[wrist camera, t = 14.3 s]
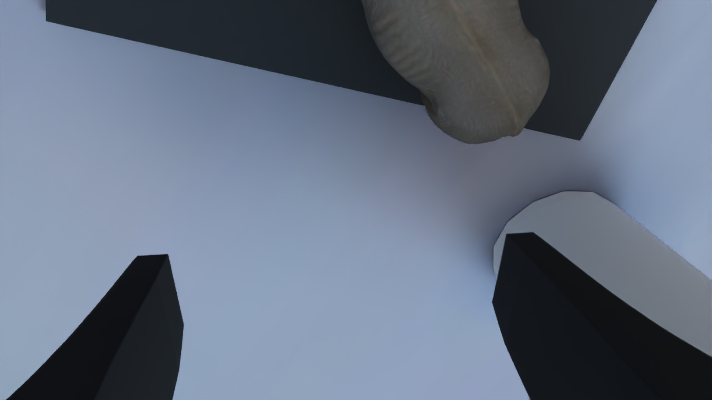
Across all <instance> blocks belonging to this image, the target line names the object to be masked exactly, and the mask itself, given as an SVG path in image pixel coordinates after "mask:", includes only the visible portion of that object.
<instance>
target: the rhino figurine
mask: <svg viewBox="0 0 712 400" xmlns="http://www.w3.org/2000/svg"><path fill="white" fill-rule="evenodd" d="M361 1H362V4H363V7H364V11H365V16H366V20H367V24H368V27H369V30H370V32H371V34H372V37H373V39H374V41H375V43H376V45H377V47H378V48H379V50H380V52H381V53H382V55H383V56H384V58H385V59H386V60H387V62H388V63H389V64H390V65H391V66H392V67H393V68H394V69H395V70H396V71H397V72H398V73H399V74H400V75H401V76H402V77H403V78H404V79H405V80H406V81H408V82H409V83H411V84H412V85H413V86H415V87H417V88H418V89H420V93H421V98H422V100H423V103H424V106H425V108H426V111H427V113H428V116H429V117H430V119H431V120H432V121H433V122H434V124H435V125H436V126H437V127H438V128H440V129H441V130H442V131H443V132H444V133H446V134H448V135H449V136H451V137H453V138H455V139H457V140H459V141H461V142H464V143H467V144H479V143H486V142H491V141H495V140H497V139H499V138H502V137H506V136H512V137H514V136H517V135H518V134H519V133H520V132H521V131H522V130H523V128H524V127H525V125H526V123H527V122H528V120H529V119H530V117H531V116H532V115H533V114H534V113H535V111H536V110H537V108H538V107H539V105H540V103H541V101H542V99H543V97H544V95H545V93H546V90H547V88H548V84H549V76H550V69H549V62H548V59H547V56H546V54H545V52H544V50H543V48H542V46H541V44H540V42H539V40H538V39H537V38H536V37H535V36H534V35H532V34H531V33H530V32H529V31H528V30H527V28H526V26H525V25H524V23H523V20H522V17H521V12H520V8H519V3H518V0H361Z"/></svg>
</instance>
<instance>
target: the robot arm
mask: <svg viewBox="0 0 712 400" xmlns="http://www.w3.org/2000/svg"><path fill="white" fill-rule="evenodd" d="M492 303H493V307H494V310H495V314H496V317H497V321H498V324H499V327H500V330H501V333H502V336H503V339H504V343H505V345H506V347H507V350H508V352H509V354H510V356H511V359H512V361H513V363H514V365H515V367H516V370H517V372H518V374H519V376H520V378H521V380H522V383H523V385H524V387H525V389H526V391H527V393H528V396H529V398H530V400H712V357H711V356H709V355H708V354H706V353H704V352H702V351H701V350H699V349H697V348H696V347H694V346H692V345H691V344H689V343H687V342H686V341H684V340H682V339H680V338H679V337H677V336H675V335H674V334H672V333H670V332H669V331H667V330H666V329H664V328H663V327H661V326H659V325H658V324H656V323H655V322H653V321H652V320H650V319H649V318H648V317H646V316H645V315H643V314H642V313H640V312H639V311H637V310H636V309H634V308H633V307H631V306H630V305H628V304H627V303H626V302H624V301H623V300H621V299H620V298H619V297H617V296H616V295H615V294H613V293H612V292H610V291H609V290H608V289H606V288H605V287H604V286H602V285H601V284H600V283H598V282H597V281H596V280H595V279H593V278H592V277H591V276H589V275H588V274H587V273H585V272H584V271H583V270H582V269H580V268H579V267H578V266H577V265H575V264H574V263H573V262H571V261H570V260H569V259H568V258H566V257H565V256H564V255H563V254H561V253H560V252H559V251H557V250H556V249H555V248H554V247H552V246H551V245H550V244H549V243H547V242H546V241H545V240H543V239H542V238H541V237H539V236H538V235H537V234H535V233H534V232H525V233H509V234H506V237H505V242H504V247H503V252H502V257H501V262H500V266H499V271H498V276H497V281H496V286H495V291H494V296H493V301H492ZM183 328H184V323H183V319H182V314H181V310H180V305H179V301H178V297H177V292H176V288H175V283H174V279H173V274H172V270H171V265H170V261H169V256H168V254H161V255H145V256H137V257H136V258H135V259H134V260H133V261H132V263H131V264H130V265H129V266H128V267H127V269H126V270H125V271H124V272H123V274H122V275H121V276H120V277H119V279H118V280H117V281H116V282H115V284H114V285H113V286H112V287H111V289H110V290H109V291H108V292H107V293H106V295H105V296H104V297H103V298H102V299H101V301H100V302H99V303H98V304H97V305H96V307H95V308H94V309H93V310H92V311H91V312H90V314H89V315H88V316H87V317H86V318H85V319H84V320H83V322H82V323H81V324H80V325H79V326H78V327H77V329H76V330H75V331H74V332H73V333H72V334H71V335H70V336H69V338H68V339H67V340H66V341H65V342H64V343H63V344H62V345H61V346H60V347H59V348H58V349H57V350H56V351H55V352H54V353H53V354H52V355H51V356H50V358H49V359H48V360H47V361H46V362H45V363H44V364H43V365H42V366H41V367H40V368H39V369H38V370H37V371H36V372H35V373H34V374H33V375H32V376H31V377H30V378H29V379H28V380H27V381H26V382H25V383H24V384H23V385H22V386H21V387H20V388H18V389H17V390H16V391H15V392H14V393H13V394H12V395H11V396H10V397H9V398H8V399H6V400H172V399H173V395H174V390H175V386H176V382H177V377H178V372H179V366H180V358H181V349H182V339H183Z"/></svg>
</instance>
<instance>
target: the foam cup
mask: <svg viewBox="0 0 712 400" xmlns="http://www.w3.org/2000/svg"><path fill="white" fill-rule="evenodd" d="M525 232H534V233H535V234H537V235H538V236H539V237H541V238H542V239H543V240H545V241H546V242H547V243H549V244H550V245H551V246H552V247H554V248H555V249H556V250H557V251H559V252H560V253H561V254H563V255H564V256H565V257H566V258H568V259H569V260H570V261H571V262H573V263H574V264H575V265H577V266H578V267H579V268H580V269H582V270H583V271H584V272H585V273H587V274H588V275H589V276H591V277H592V278H593V279H595V280H596V281H597V282H598V283H600V284H601V285H602V286H604V287H605V288H606V289H608V290H609V291H610V292H612V293H613V294H615V295H616V296H617V297H619V298H620V299H621V300H623V301H624V302H626V303H627V304H628V305H630V306H631V307H633V308H634V309H636V310H637V311H639V312H640V313H642V314H643V315H645V316H646V317H648V318H649V319H650V320H652V321H653V322H655V323H656V324H658V325H659V326H661V327H663V328H664V329H666V330H667V331H669V332H670V333H672V334H674V335H675V336H677V337H679V338H680V339H682V340H684V341H686V342H687V343H689V344H691V345H692V346H694V347H696V348H697V349H699V350H701V351H702V352H704V353H706V354H708V355H709V356H711V357H712V280H711V279H710V278H708V277H707V276H706V275H705V274H703V273H702V272H701V271H699V270H698V269H697V268H696V267H694V266H693V265H692V264H691V263H689V262H688V261H687V260H686V259H684V258H683V257H682V256H680V255H679V254H678V253H677V252H675V251H674V250H673V249H672V248H670V247H669V246H668V245H667V244H665V243H664V242H663V241H661V240H660V239H659V238H658V237H656V236H655V235H654V234H653V233H651V232H650V231H649V230H647V229H646V228H645V227H644V226H642V225H641V224H640V223H639V222H637V221H636V220H635V219H634V218H632V217H631V216H630V215H628V214H627V213H626V212H625V211H623V210H622V209H620V208H618V207H617V206H616V205H615V204H614V203H612V202H610V201H608V200H607V199H605V198H603V197H601V196H599V195H598V194H596V193H594V192H574V191H563V192H560V193H557V194H554V195H551V196H549V197H546V198H543V199H540V200H537V201H535V202H532V203H531V204H530V205H528V206H527V207H526V208H525V209H523V210H522V211H521V212H520V213H518V214H517V215H516V216H515V217H513V218H512V219H511V220H510V221H508V222H507V224H506V225H505V227H504V229H503V231H502V232H501V234H500V236H499V238H498V239H497V241H496V243H495V245H494V254H493V269H494V272H495V274H496V281H497V276H498V271H499V266H500V262H501V257H502V252H503V247H504V242H505V237H506V234H509V233H525ZM528 397H529V396H528ZM529 400H530V398H529Z"/></svg>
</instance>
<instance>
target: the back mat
mask: <svg viewBox="0 0 712 400" xmlns="http://www.w3.org/2000/svg"><path fill="white" fill-rule="evenodd" d="M656 1H657V0H518V3H519V8H520V12H521V17H522V20H523V23H524V25H525V26H526V28H527V30H528V31H529V32H530V33H531V34H532V35H534V36H535V37H536V38H537V39H538V40H539V42H540V44H541V46H542V48H543V50H544V52H545V54H546V56H547V59H548V62H549V69H550V76H549V84H548V88H547V90H546V93H545V95H544V97H543V99H542V101H541V103H540V105H539V107H538V108H537V110H536V111H535V113H534V114H533V115H532V116H531V117H530V119H529V120H528V122H527V123H526V125H525V127H524V128H526V129H530V130H535V131H539V132H544V133H548V134H553V135H557V136H562V137H566V138H571V139H575V140H581V138H582V136H583V135H584V133H585V131H586V129H587V127H588V125H589V124H590V122H591V120H592V118H593V116H594V114H595V113H596V111H597V109H598V107H599V105H600V104H601V102H602V100H603V98H604V96H605V94H606V93H607V91H608V89H609V87H610V85H611V83H612V82H613V80H614V78H615V76H616V74H617V72H618V71H619V69H620V67H621V65H622V63H623V62H624V60H625V58H626V56H627V54H628V52H629V51H630V49H631V47H632V45H633V43H634V41H635V40H636V38H637V36H638V34H639V32H640V30H641V29H642V27H643V25H644V23H645V21H646V20H647V18H648V16H649V14H650V12H651V10H652V9H653V7H654V5H655V3H656ZM46 21H48V22H52V23H57V24H61V25H66V26H70V27H75V28H79V29H84V30H88V31H92V32H97V33H101V34H106V35H110V36H115V37H119V38H124V39H128V40H133V41H137V42H142V43H146V44H151V45H155V46H159V47H164V48H168V49H173V50H177V51H182V52H186V53H191V54H195V55H200V56H204V57H209V58H213V59H218V60H222V61H227V62H231V63H235V64H240V65H244V66H249V67H253V68H258V69H262V70H267V71H271V72H276V73H280V74H285V75H289V76H294V77H298V78H303V79H307V80H311V81H316V82H320V83H325V84H329V85H334V86H338V87H343V88H347V89H352V90H356V91H361V92H365V93H370V94H374V95H378V96H383V97H387V98H392V99H396V100H401V101H405V102H410V103H414V104H419V105H423V106H424V103H423V100H422V98H421V93H420V89H418V88H417V87H415V86H413V85H412V84H411V83H409V82H408V81H406V80H405V79H404V78H403V77H402V76H401V75H400V74H399V73H398V72H397V71H396V70H395V69H394V68H393V67H392V66H391V65H390V64H389V63H388V62H387V60H386V59H385V58H384V56H383V55H382V53H381V52H380V50H379V48H378V47H377V45H376V43H375V41H374V39H373V37H372V34H371V32H370V30H369V27H368V24H367V20H366V16H365V11H364V7H363V4H362V1H361V0H46Z"/></svg>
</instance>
